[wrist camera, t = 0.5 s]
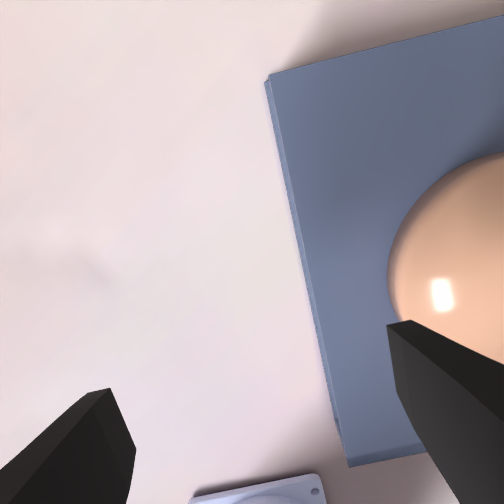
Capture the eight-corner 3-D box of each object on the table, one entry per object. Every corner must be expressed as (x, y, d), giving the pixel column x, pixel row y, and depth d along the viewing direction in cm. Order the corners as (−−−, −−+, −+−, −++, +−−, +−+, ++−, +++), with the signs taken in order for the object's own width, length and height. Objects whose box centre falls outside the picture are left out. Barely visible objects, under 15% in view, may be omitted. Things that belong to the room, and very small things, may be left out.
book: (570, 373, 21) (620, 412, 19) (335, 422, 22) (349, 467, 19) (580, 2, 16) (655, -24, 13) (264, 82, 16) (268, 74, 14)
